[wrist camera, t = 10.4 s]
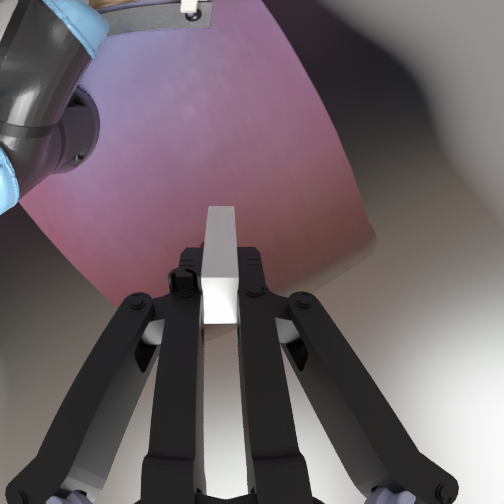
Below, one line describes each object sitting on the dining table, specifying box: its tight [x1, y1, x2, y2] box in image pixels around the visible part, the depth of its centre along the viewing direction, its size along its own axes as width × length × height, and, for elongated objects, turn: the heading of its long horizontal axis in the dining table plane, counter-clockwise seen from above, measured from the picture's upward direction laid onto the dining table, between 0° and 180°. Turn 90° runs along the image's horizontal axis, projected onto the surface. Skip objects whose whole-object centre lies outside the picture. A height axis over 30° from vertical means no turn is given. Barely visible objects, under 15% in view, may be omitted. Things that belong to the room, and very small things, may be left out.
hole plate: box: [101, 2, 213, 38], centre depth 27 cm, size 22×4×1 cm, turn 85°
